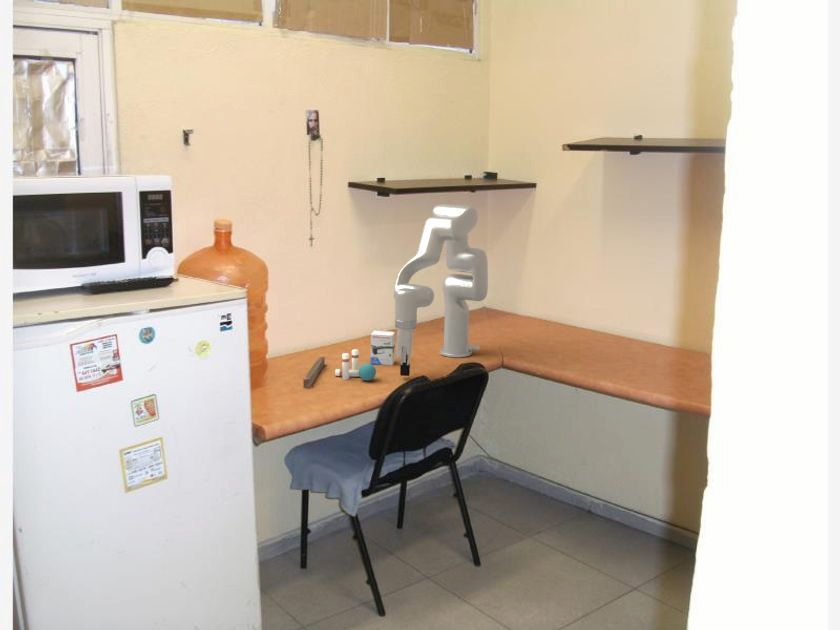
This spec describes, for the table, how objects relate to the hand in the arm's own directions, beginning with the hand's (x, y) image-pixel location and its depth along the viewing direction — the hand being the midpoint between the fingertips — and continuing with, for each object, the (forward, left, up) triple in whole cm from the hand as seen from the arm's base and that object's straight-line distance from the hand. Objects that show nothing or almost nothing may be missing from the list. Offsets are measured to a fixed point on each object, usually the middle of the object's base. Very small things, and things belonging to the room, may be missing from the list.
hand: (404, 375), depth 280 cm
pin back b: (+20, +2, -2) cm, 21 cm away
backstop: (+32, 0, -2) cm, 32 cm away
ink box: (+10, -19, -2) cm, 22 cm away
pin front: (+16, -1, 0) cm, 16 cm away
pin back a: (+18, -3, -2) cm, 18 cm away
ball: (+13, +3, +2) cm, 13 cm away
